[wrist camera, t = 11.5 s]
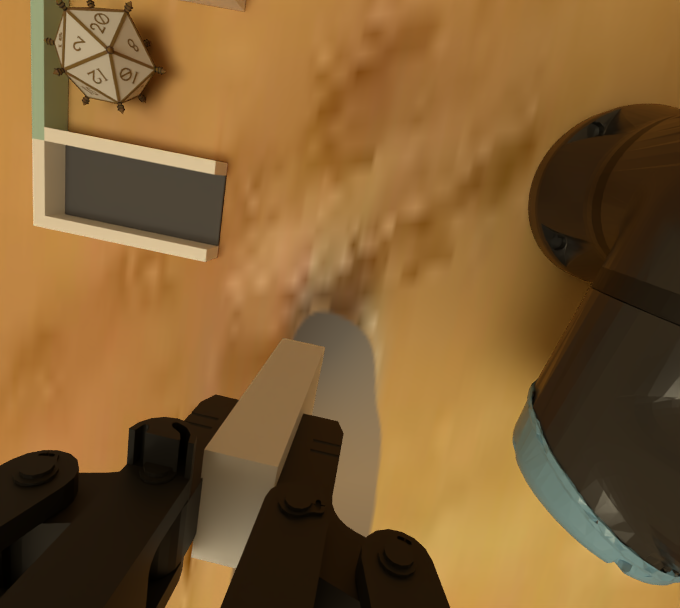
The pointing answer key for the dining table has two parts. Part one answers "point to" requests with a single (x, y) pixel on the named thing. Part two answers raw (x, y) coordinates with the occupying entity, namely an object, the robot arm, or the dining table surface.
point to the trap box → (91, 147)
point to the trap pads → (144, 195)
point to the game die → (103, 53)
